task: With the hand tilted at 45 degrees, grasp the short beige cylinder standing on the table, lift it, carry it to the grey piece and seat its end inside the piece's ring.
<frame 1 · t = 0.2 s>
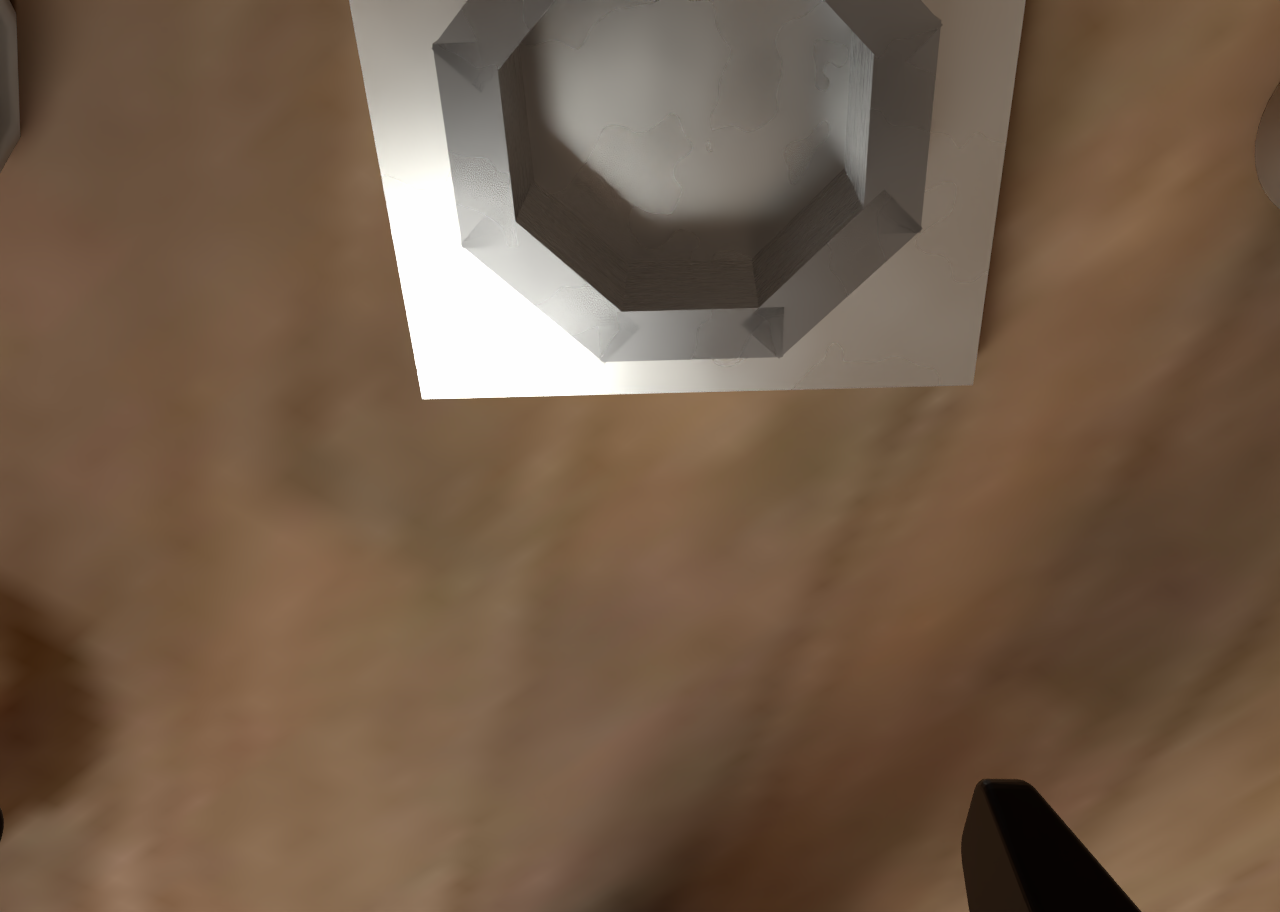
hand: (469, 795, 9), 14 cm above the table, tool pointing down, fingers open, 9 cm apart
grey piece: (685, 98, 19), on the table
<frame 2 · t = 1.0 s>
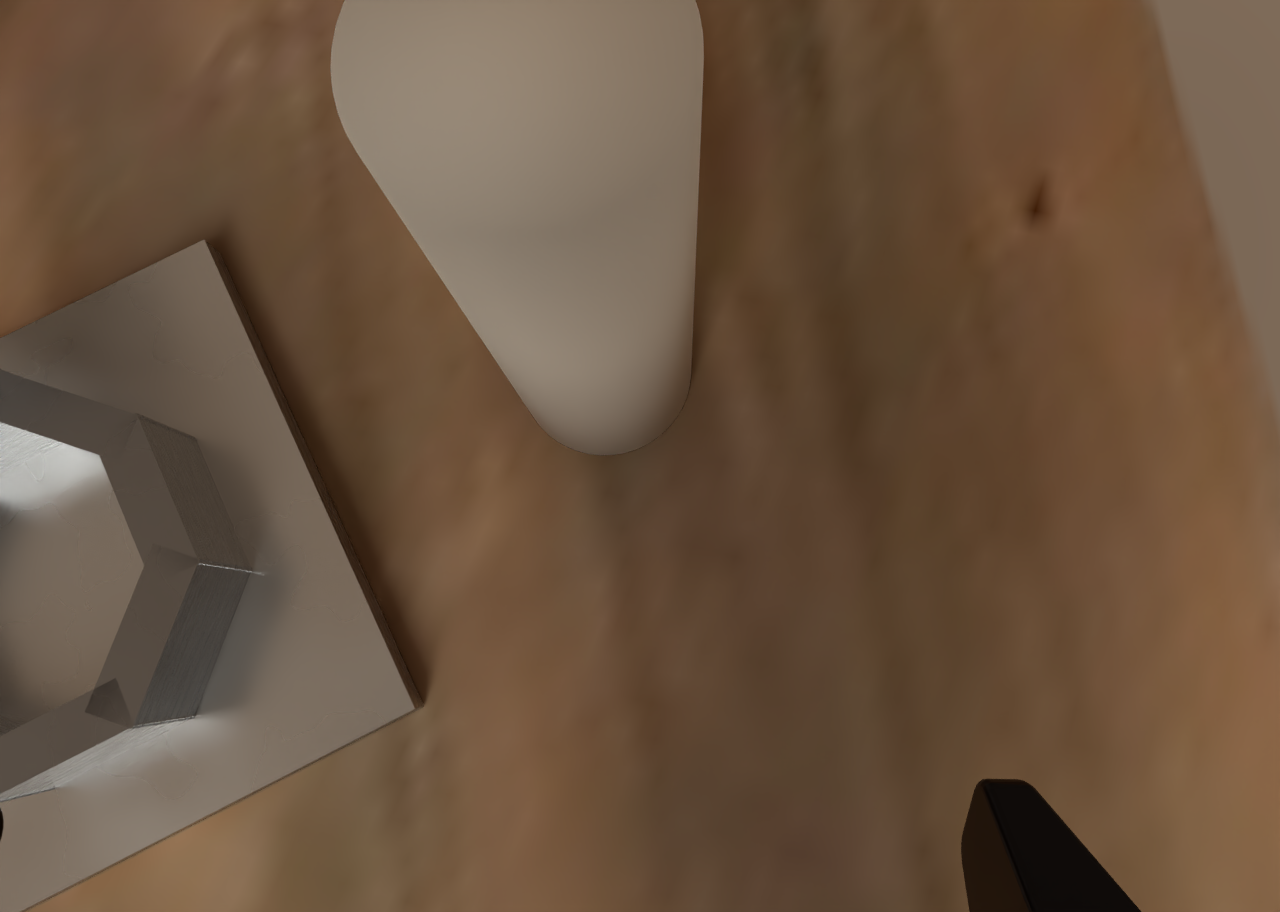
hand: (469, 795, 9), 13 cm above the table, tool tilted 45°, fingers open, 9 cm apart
grey piece: (80, 587, 23), on the table
beige cylinder: (605, 371, 23), on the table
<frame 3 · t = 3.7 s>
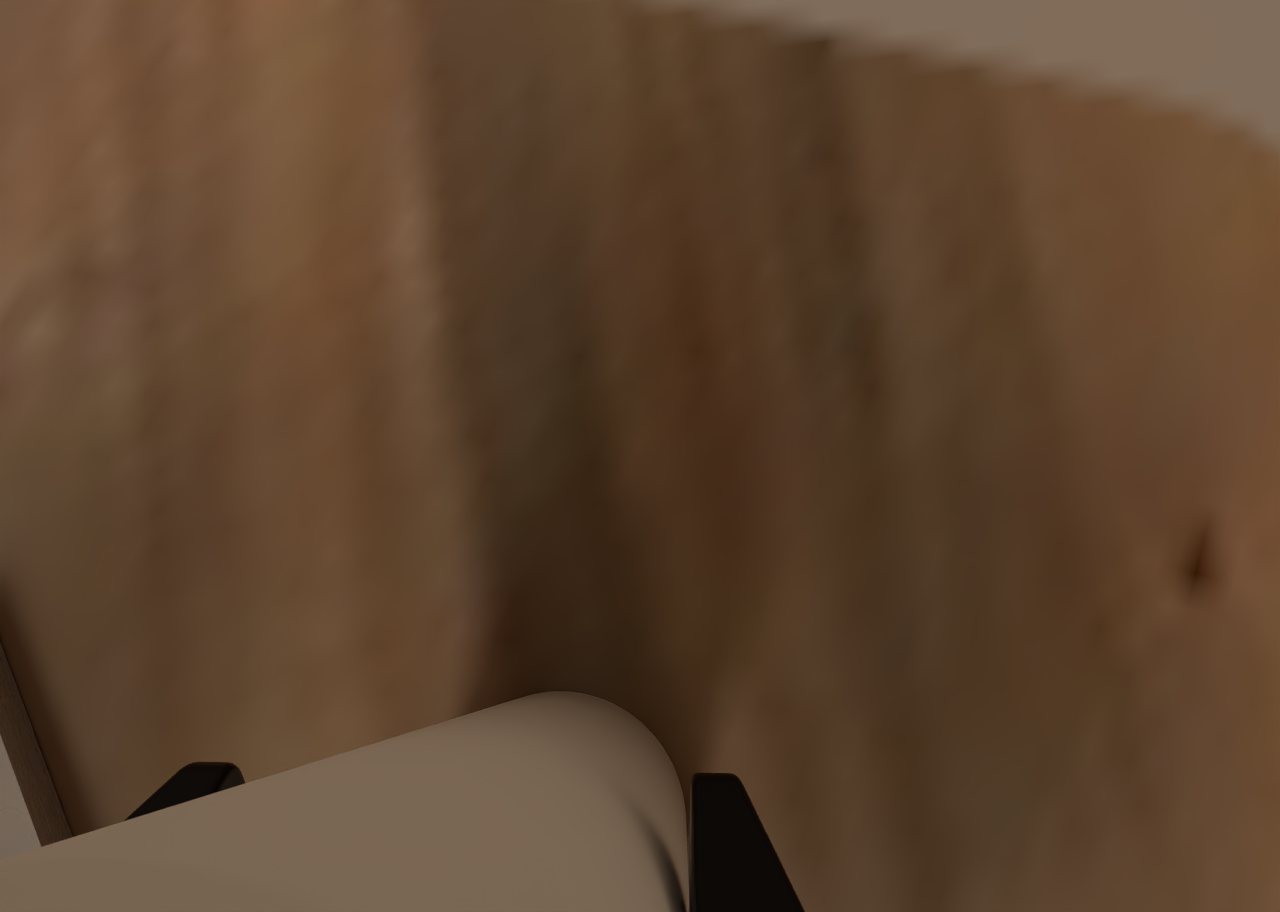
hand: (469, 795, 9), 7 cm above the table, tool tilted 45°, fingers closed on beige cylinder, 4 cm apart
beige cylinder: (558, 822, 16), on the table, touching gripper
when the fingers open (9 cm above the table, at t = 7.1 s): beige cylinder drops 1 cm, resting on grey piece.
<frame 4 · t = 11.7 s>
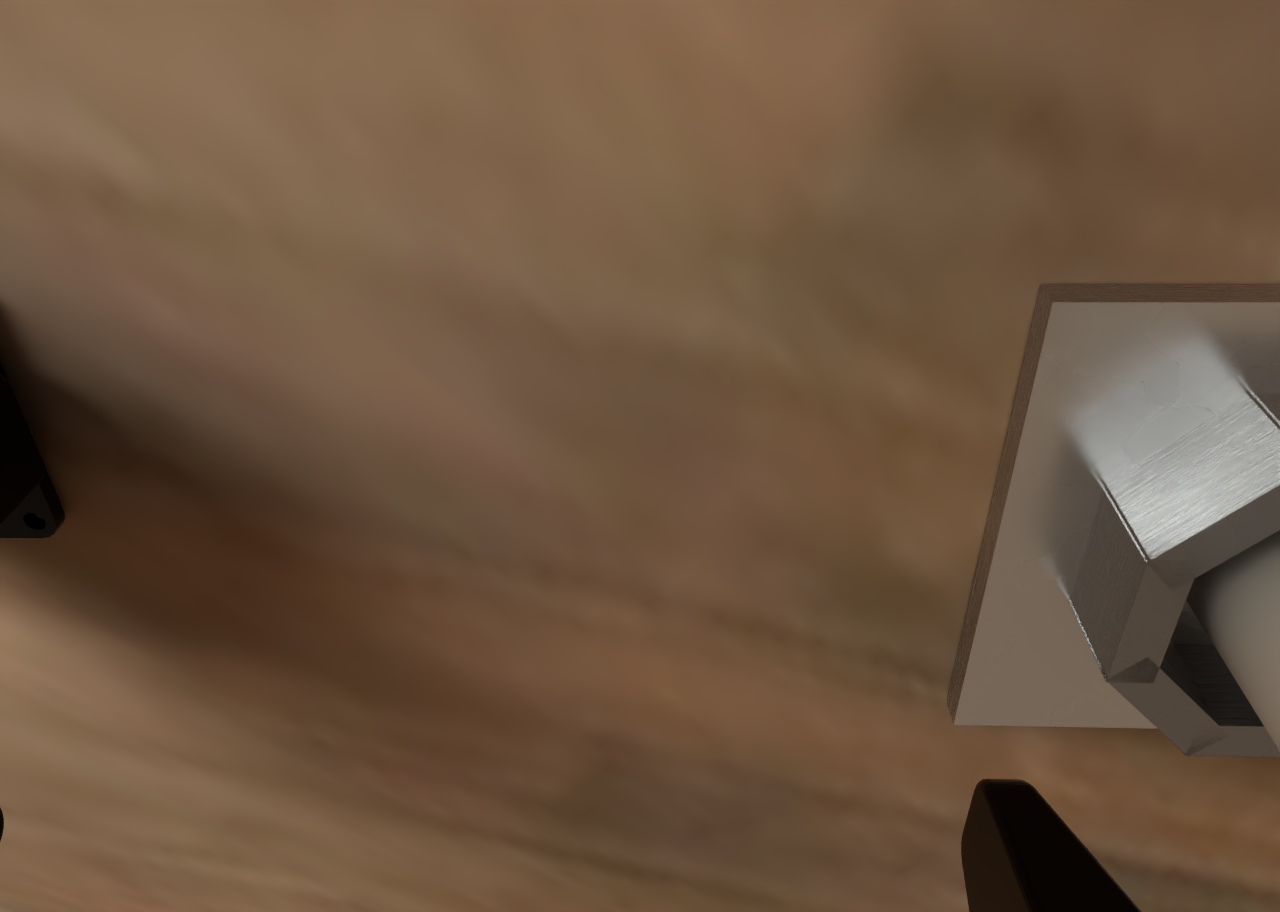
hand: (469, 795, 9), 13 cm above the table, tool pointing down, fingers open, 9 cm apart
grey piece: (1251, 525, 23), on the table
beige cylinder: (1266, 547, 22), point 1 cm above the table, touching grey piece
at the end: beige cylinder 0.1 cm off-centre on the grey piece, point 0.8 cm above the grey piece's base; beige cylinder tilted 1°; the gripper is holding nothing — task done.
